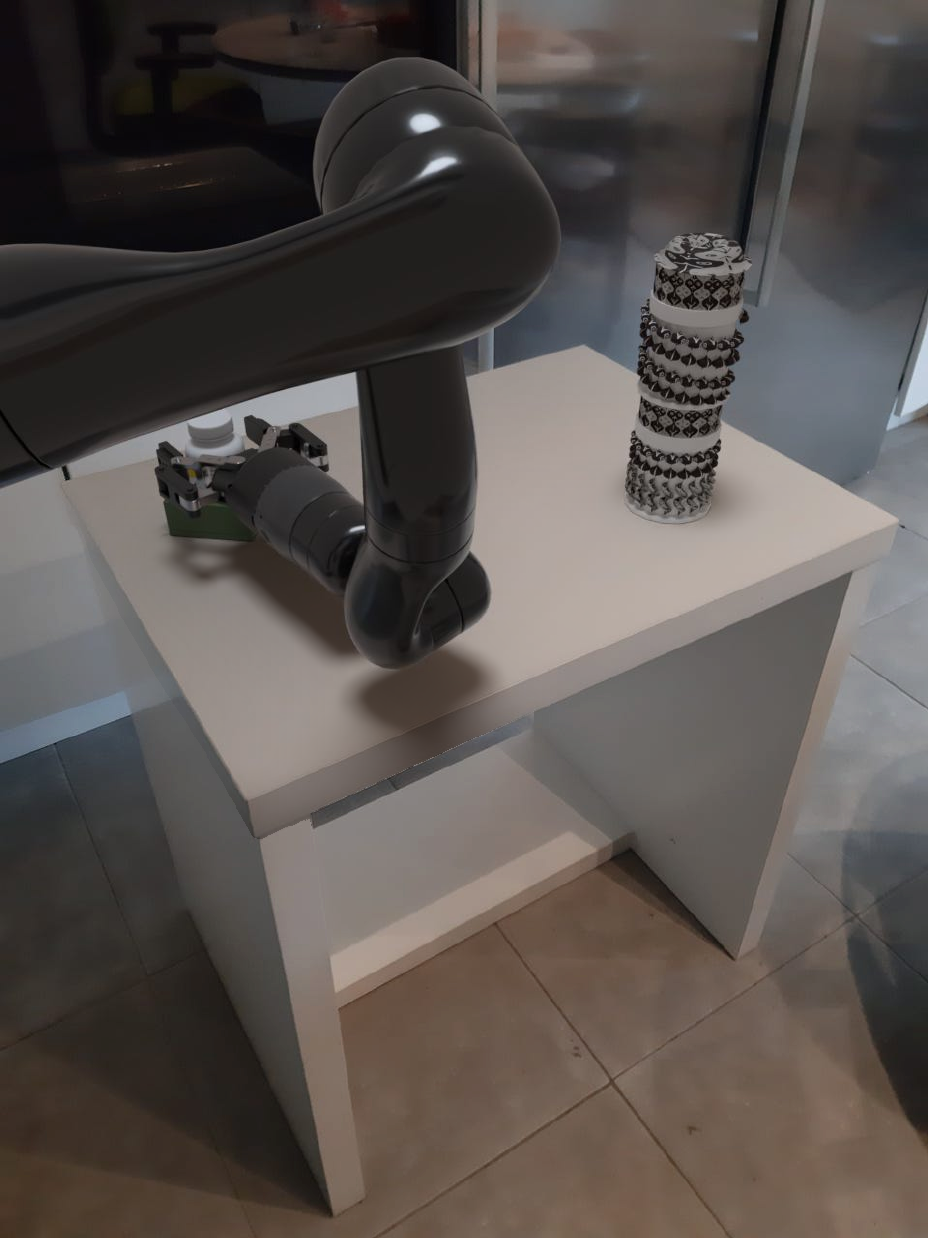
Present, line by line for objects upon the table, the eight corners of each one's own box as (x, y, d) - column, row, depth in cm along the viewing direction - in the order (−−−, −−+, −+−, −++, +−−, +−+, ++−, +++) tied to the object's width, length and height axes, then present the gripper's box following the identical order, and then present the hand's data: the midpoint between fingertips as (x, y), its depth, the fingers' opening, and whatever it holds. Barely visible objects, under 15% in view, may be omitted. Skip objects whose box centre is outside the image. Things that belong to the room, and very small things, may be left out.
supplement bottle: (194, 501, 95) (176, 408, 89) (250, 492, 97) (236, 400, 91) (199, 529, 91) (181, 434, 85) (257, 520, 93) (244, 426, 87)
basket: (252, 541, 91) (247, 507, 89) (169, 535, 92) (162, 501, 89) (276, 497, 97) (272, 465, 95) (199, 492, 98) (193, 460, 96)
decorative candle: (649, 469, 102) (681, 218, 87) (730, 497, 97) (780, 238, 82) (601, 504, 96) (627, 242, 81) (686, 536, 92) (730, 265, 76)
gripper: (367, 442, 81) (269, 379, 91) (212, 497, 74) (124, 421, 84) (372, 520, 86) (278, 451, 96) (226, 578, 79) (141, 497, 89)
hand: (206, 437), depth 90 cm, fingers open, 8 cm apart
